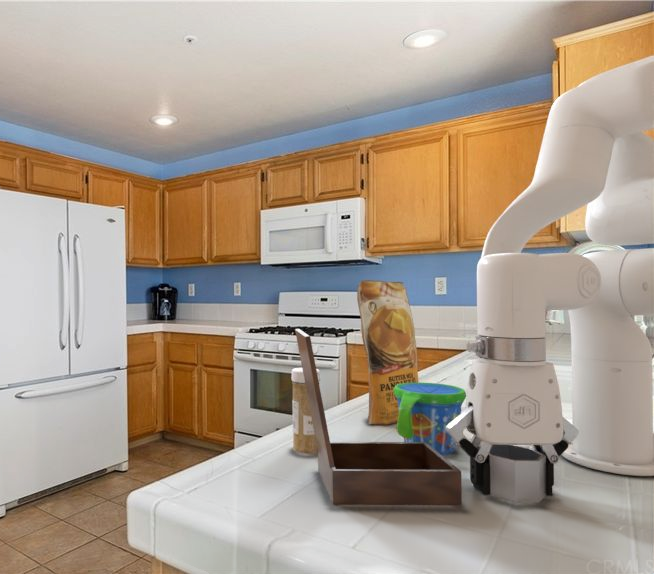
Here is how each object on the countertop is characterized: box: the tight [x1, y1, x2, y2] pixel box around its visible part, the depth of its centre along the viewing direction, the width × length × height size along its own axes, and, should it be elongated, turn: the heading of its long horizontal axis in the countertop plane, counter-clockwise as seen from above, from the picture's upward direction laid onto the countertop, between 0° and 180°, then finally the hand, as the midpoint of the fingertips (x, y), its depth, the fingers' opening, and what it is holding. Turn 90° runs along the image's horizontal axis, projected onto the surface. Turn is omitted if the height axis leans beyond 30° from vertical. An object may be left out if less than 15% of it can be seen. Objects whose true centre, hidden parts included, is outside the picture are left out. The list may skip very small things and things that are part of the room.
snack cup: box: [394, 382, 467, 456], centre depth 80 cm, size 16×10×10 cm
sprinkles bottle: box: [291, 367, 321, 455], centre depth 79 cm, size 5×5×14 cm
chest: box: [317, 441, 463, 507], centre depth 64 cm, size 15×11×5 cm
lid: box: [294, 328, 335, 468], centre depth 64 cm, size 16×11×1 cm
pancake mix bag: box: [356, 279, 419, 425], centre depth 100 cm, size 7×19×28 cm, turn 125°
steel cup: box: [486, 444, 547, 503], centre depth 62 cm, size 7×7×6 cm
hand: (511, 489), depth 62 cm, fingers closed on steel cup, 6 cm apart
